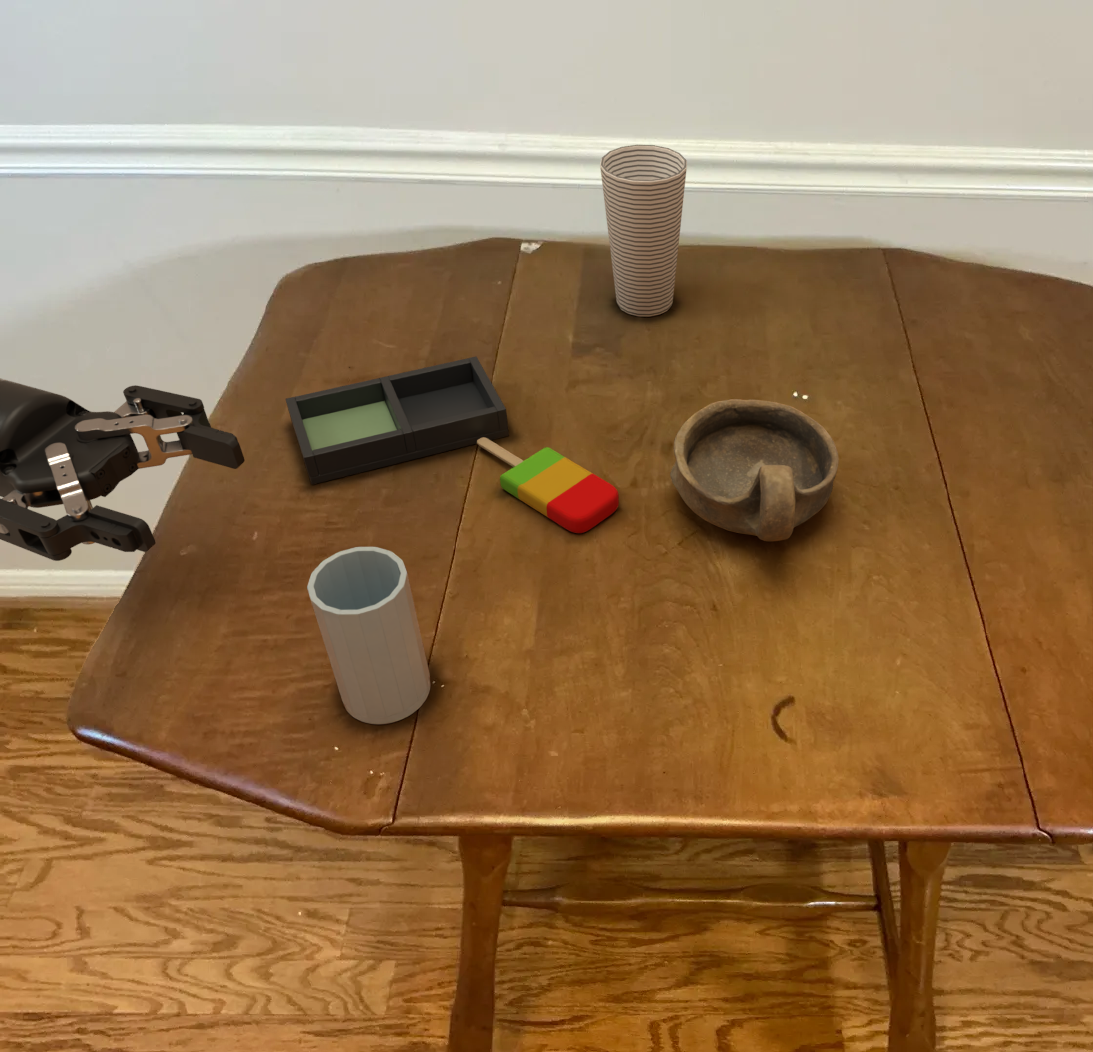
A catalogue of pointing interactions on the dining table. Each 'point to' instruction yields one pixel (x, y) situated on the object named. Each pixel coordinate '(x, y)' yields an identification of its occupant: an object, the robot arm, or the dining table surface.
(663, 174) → the cup
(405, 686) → the tumbler
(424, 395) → the tray
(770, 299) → the dining table surface
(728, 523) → the bowl
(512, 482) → the popsicle
